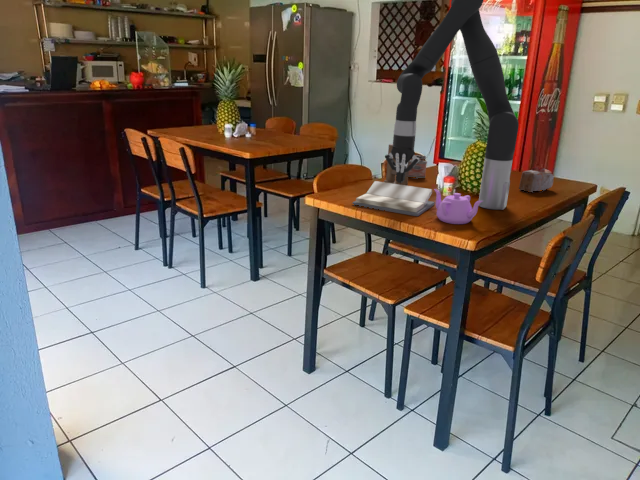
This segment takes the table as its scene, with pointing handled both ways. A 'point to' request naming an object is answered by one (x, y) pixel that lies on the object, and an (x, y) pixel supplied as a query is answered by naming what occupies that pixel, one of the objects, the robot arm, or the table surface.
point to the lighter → (418, 168)
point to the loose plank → (400, 192)
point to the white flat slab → (390, 202)
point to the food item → (536, 179)
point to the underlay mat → (426, 207)
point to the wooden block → (394, 172)
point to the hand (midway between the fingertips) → (400, 182)
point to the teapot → (455, 208)
